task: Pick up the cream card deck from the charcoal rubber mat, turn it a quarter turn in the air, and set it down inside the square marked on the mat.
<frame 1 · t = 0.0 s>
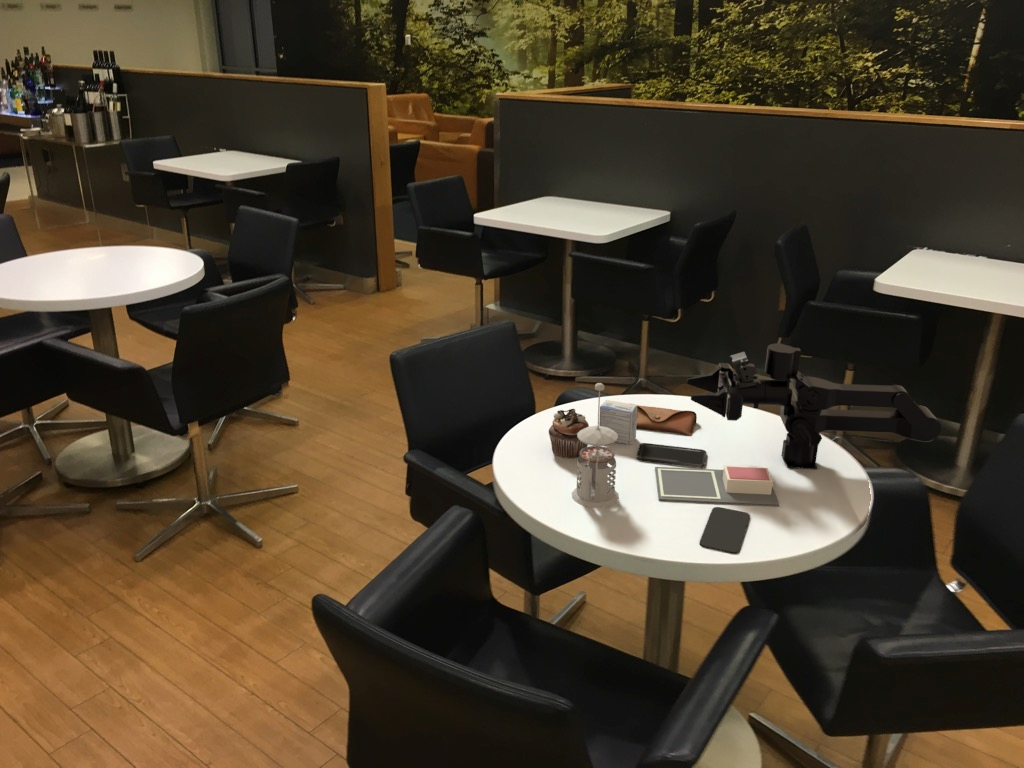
hand: (688, 389, 184), 17 cm above the table, tool horizontal, fingers open, 9 cm apart
mat: (714, 486, 178), on the table
cupcake: (569, 451, 193), on the table
french press: (594, 498, 174), on the table
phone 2: (671, 459, 190), on the table
phone: (724, 532, 162), on the table
sunglasses case: (657, 427, 206), on the table
medicine box: (617, 439, 199), on the table
card deck: (746, 486, 177), resting on mat
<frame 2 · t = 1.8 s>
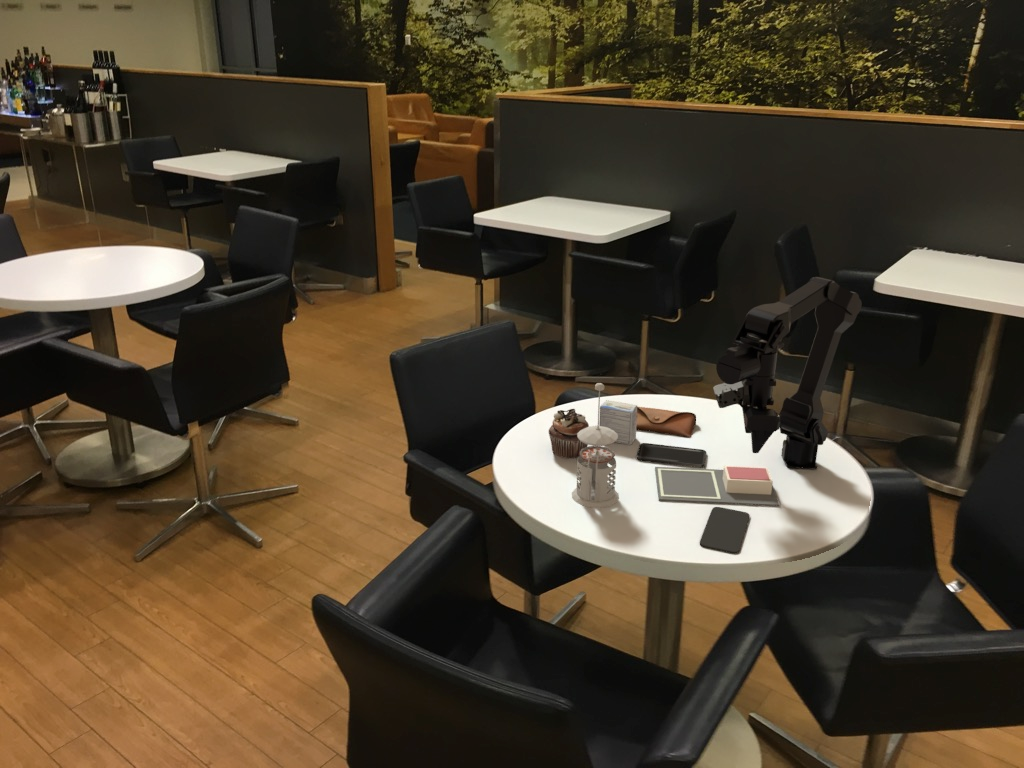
hand: (751, 442, 173), 11 cm above the table, tool pointing down, fingers open, 9 cm apart
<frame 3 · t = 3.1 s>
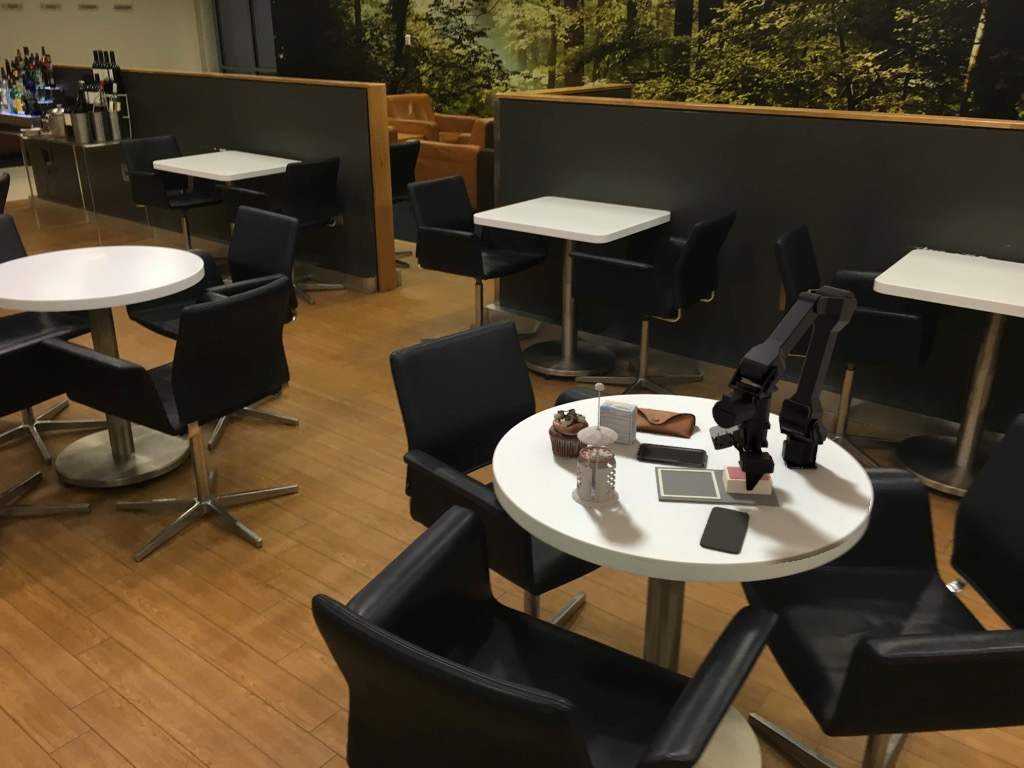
hand: (746, 482, 176), 1 cm above the table, tool pointing down, fingers closed on card deck, 6 cm apart
card deck: (746, 486, 177), resting on mat, touching gripper
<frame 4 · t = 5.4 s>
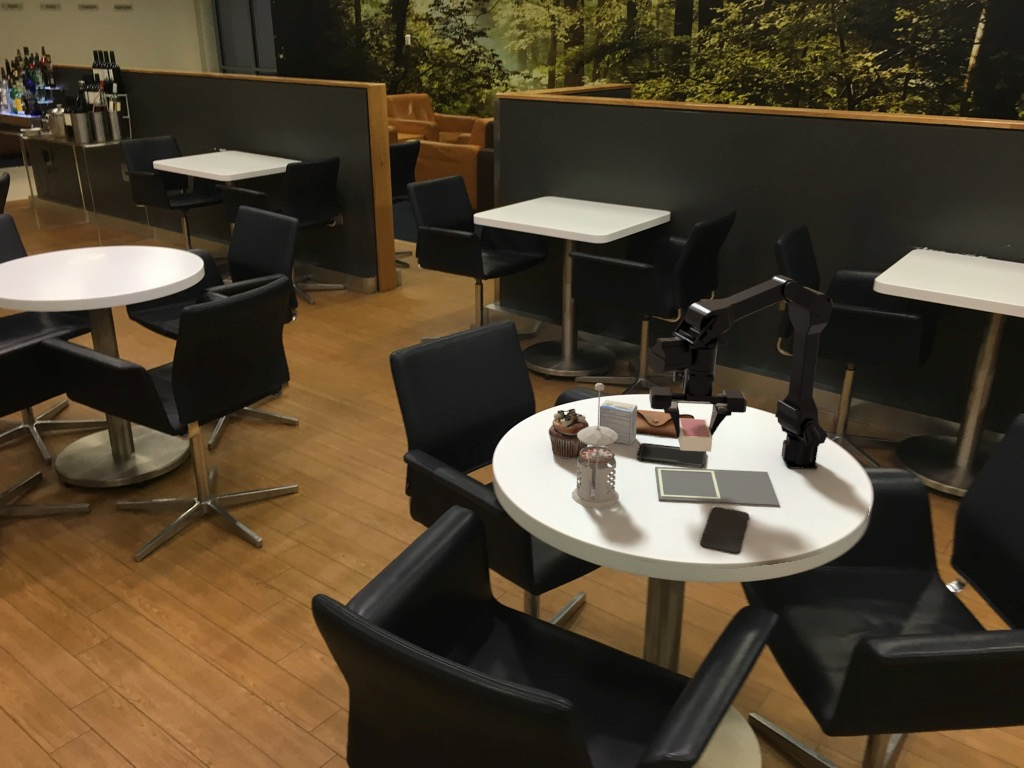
hand: (693, 437, 174), 11 cm above the table, tool pointing down, fingers closed on card deck, 6 cm apart
sunglasses case: (655, 431, 204), on the table
card deck: (693, 441, 174), point 10 cm above the table, touching gripper
everything else where it was.
when the fingers open (3 cm above the table, at t = 7.9 s): card deck drops 1 cm, resting on mat.
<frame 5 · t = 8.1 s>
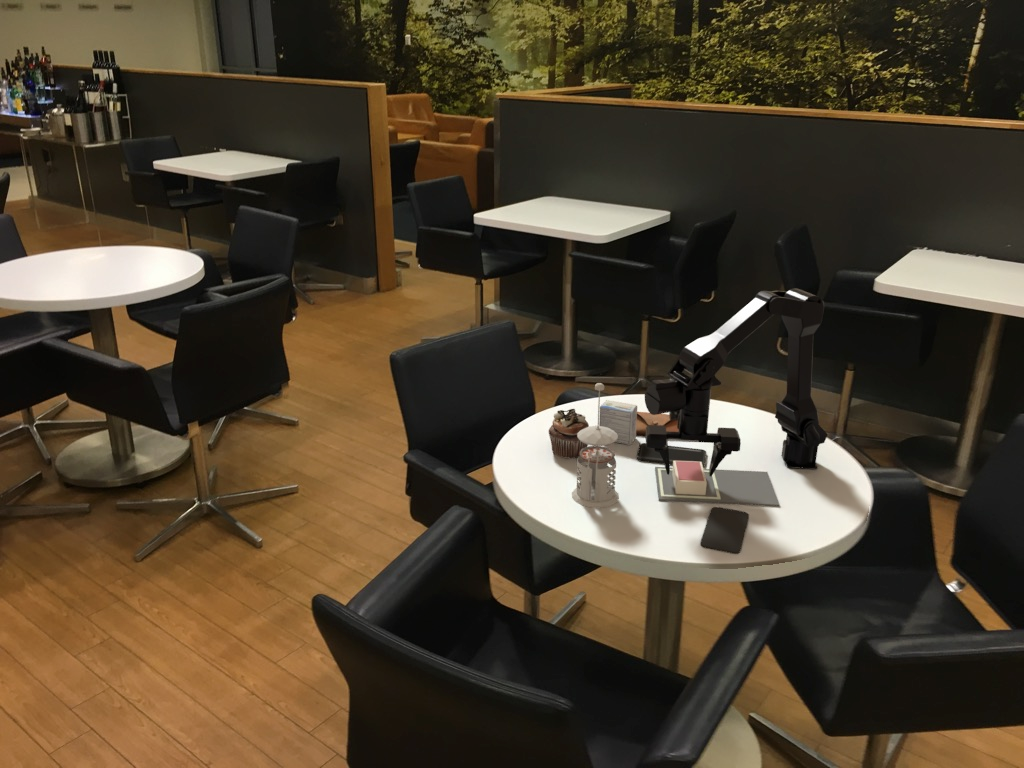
hand: (689, 474, 177), 3 cm above the table, tool pointing down, fingers open, 8 cm apart
sunglasses case: (655, 433, 203), on the table
card deck: (688, 483, 178), resting on mat
everything else where it was.
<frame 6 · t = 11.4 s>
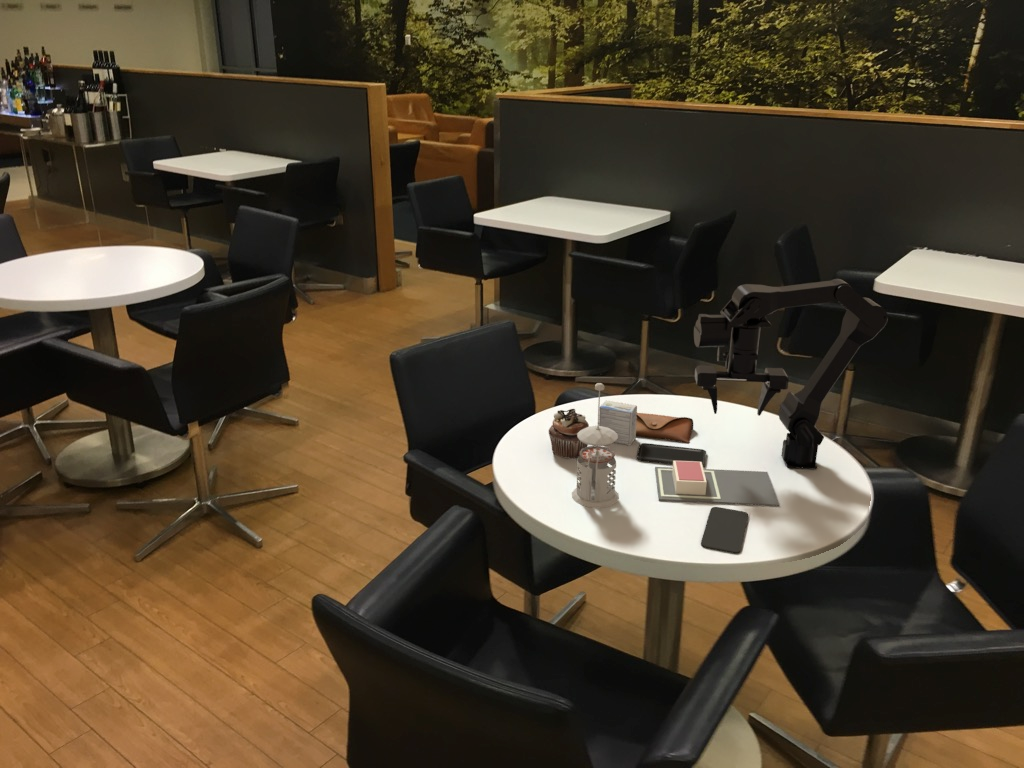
hand: (736, 413, 183), 12 cm above the table, tool pointing down, fingers open, 9 cm apart
at the end: card deck 0.1 cm from the target spot on the mat, point 0.4 cm above the mat's base; card deck tilted 0°; the gripper is holding nothing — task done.
